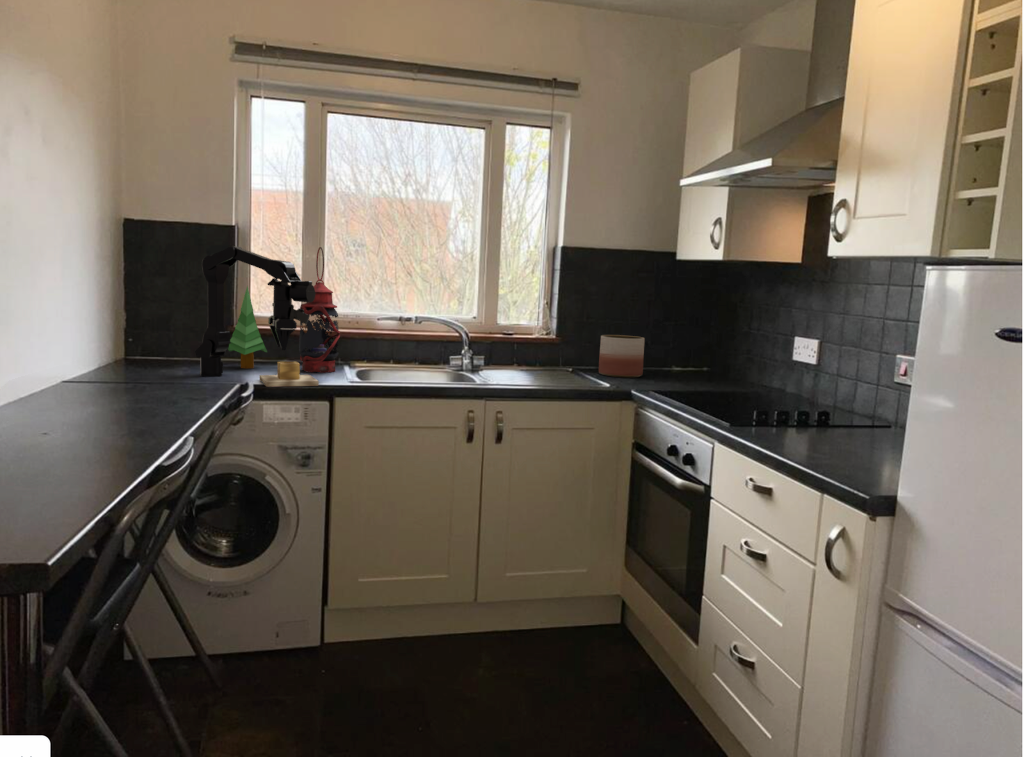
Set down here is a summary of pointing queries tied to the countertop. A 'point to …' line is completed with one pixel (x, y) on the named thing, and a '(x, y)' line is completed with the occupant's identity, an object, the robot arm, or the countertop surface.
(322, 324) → the lantern
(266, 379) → the post board
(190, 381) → the countertop surface
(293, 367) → the wooden crate frame
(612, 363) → the planter
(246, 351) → the decorative tree
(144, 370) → the countertop surface
